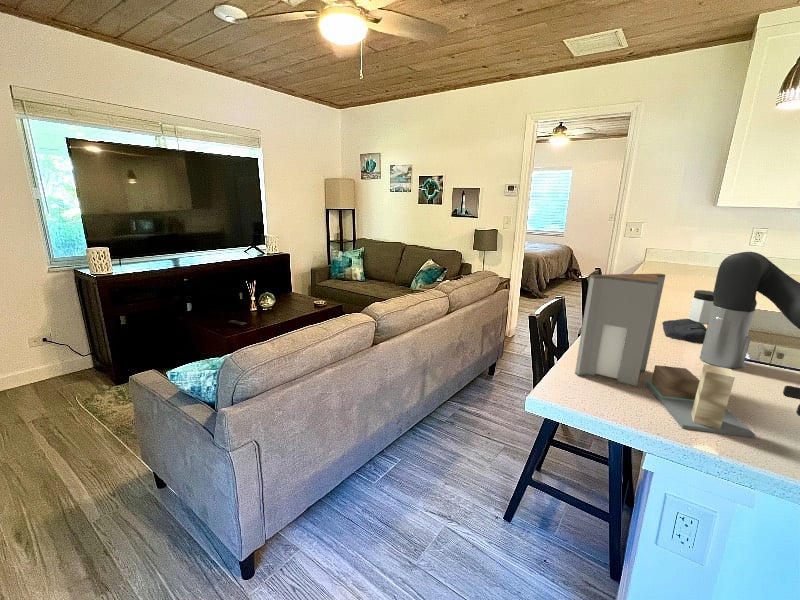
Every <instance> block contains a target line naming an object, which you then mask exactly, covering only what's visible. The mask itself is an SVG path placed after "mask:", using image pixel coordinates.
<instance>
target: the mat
mask: <svg viewBox="0 0 800 600" xmlns="http://www.w3.org/2000/svg"><path fill="white" fill-rule="evenodd" d="M651 382H652V381H648V380H647V381H645V386H646V387H647V388H648V389H649V390H650V392H651V393H652V394H653V395H654V396H655V397H656V399H657V400H658V401H659V402H660V404H661V405H662V406H663V407H664V408H665V409H666V411H667V412H668V413H669V414H670V415H671V417H672V418H673V419H674V420H675V422H676V424H678V425H679V427H681V429H685V430H691V431H693V430H694V431H700V432H706V433H708V432H709V433H716V434H721V435H729V436H735V437H736V436H737V437H745V438H751V439H752V438H753V439H754V438H755V437H756V434H755V433H754V432H753V431H752V430H751V429H749V428H748V427H747V426H746V425H745V424H744V423H743V422H742V421H741V420H739V418H737V417H736V416H735V414H733V413H732V412H730V411H729V410H728V409H727V408H726V411H725V414H724V418H723V421H722V425H721V428H720V429H716V428H712V427H709V426H705V425H701V424H697V423H694V422H693V419H692V409H693V405H694V401H695V400H691V399H683V398H674V397H666V396H662V394H661V393H660V392H659V391H658V390H657V389H656V388H655V386H654V385H653V384H652V383H651Z"/></svg>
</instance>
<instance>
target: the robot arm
mask: <svg viewBox="0 0 800 600" xmlns="http://www.w3.org/2000/svg"><path fill="white" fill-rule="evenodd" d="M713 292H714V293H713V294H714V302H713V306H712V310H711V314H710V318H709V322H708V324H707V326H706V328H707V330H706V334H705V338H704V342H703V344H702V347H701V350H700V355H699V359H700V360H701V361H703V362H705V363H706V364H708V365H712V366H717V367H722V368H727V369H736V368H743V367H744V364H745V361H746V358H747V357H746V356H747V355H748V354H747V353H748V350H749V347H750V344H751V343H750V342H751V339H752V337H751V336H750V335H749V331H750V328H751V324H752V322H753V319H754V316H755V315H754V314H755V310H756V307H757V305H758V302H757V299H756V296H757V292H758V294H761V295H763V296H764V297H765V298H767V299H768V300H769V301H770V302H772V303H773V304H774V306H776V307H777V309H778V311H780V312H781V314H782V315H783V316H784V317H785V318H786V319H787V320H788V321H789V322H790V323H791V324H792V325H793V326H795V327H796V328H797V329H799V330H800V282H799V281H797V280H795V279H794V278H792V277H791V276H790V275H788V274H787V273H785V272H784V271H783V270H782V269H781V268H780V267H778V266H777V265H776V264H774V263H773V262H772V261H770V259H768V258H767V257H766V256H764V255H762V254H760V253H759V252H755V251H742V252H738V253H734V254H730V255H728V256H727V257H725V258H724V259H723V260H722V261H721V262H720V264H719V267H718V270H717V273H716V278H715V283H714V288H713ZM782 394H783V396H784V397H787V398H791V399H795V400H800V387H797V386H793V385H785V386H784V389H783V390H782ZM796 414H797V415H798V416H799V417H800V404H799V405H797V408H796Z"/></svg>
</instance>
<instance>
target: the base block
mask: <svg viewBox="0 0 800 600" xmlns="http://www.w3.org/2000/svg"><path fill="white" fill-rule="evenodd" d="M699 381H700V378H697V377H696V376H695V374H694V373H692V372H691V371H690V370H688V369H687V368H685V367H676V366H675V367H674V366H666V365H658V364H657V365H656V364H655V365H654V368H653V373H652V377H651V381H650V382H651V383H652V384H653V385H654V386H655V388H656V389H657V390H658V391H659V392H660V393H661V394H662V396H666V397H674V398H683V399H691V400H695V397H696V393H697V389H698V385H699Z"/></svg>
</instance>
